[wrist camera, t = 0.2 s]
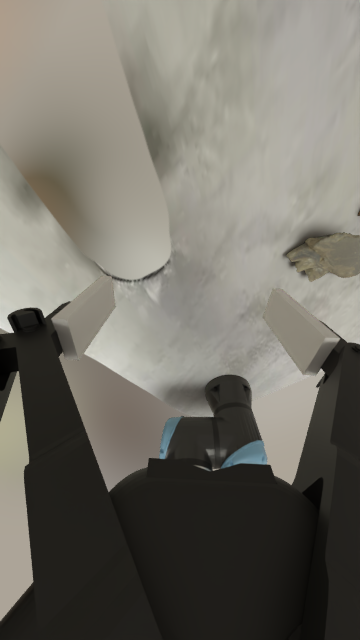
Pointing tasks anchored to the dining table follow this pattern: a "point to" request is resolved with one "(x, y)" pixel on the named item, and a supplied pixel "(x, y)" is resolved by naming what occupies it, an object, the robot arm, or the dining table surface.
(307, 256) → the jagged rock
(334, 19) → the dining table surface
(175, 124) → the dining table surface
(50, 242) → the dining table surface
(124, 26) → the dining table surface
